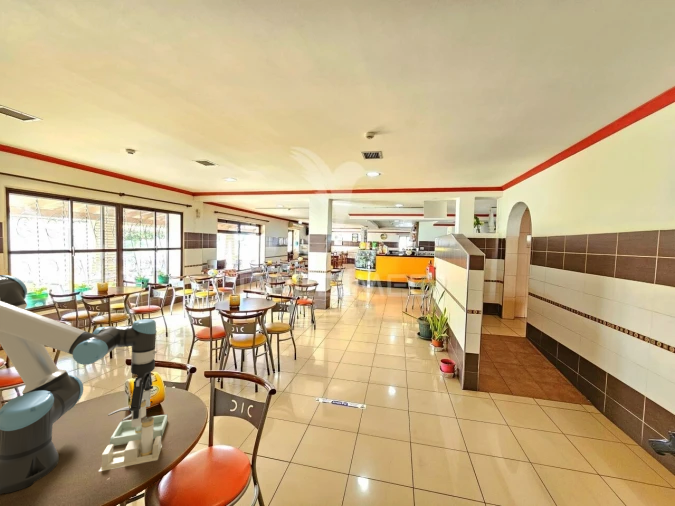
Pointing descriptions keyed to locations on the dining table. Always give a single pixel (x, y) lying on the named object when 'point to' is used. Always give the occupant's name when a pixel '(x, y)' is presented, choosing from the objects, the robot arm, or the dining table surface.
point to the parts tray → (128, 434)
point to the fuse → (147, 436)
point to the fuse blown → (141, 416)
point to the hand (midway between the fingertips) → (141, 416)
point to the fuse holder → (129, 455)
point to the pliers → (122, 410)
